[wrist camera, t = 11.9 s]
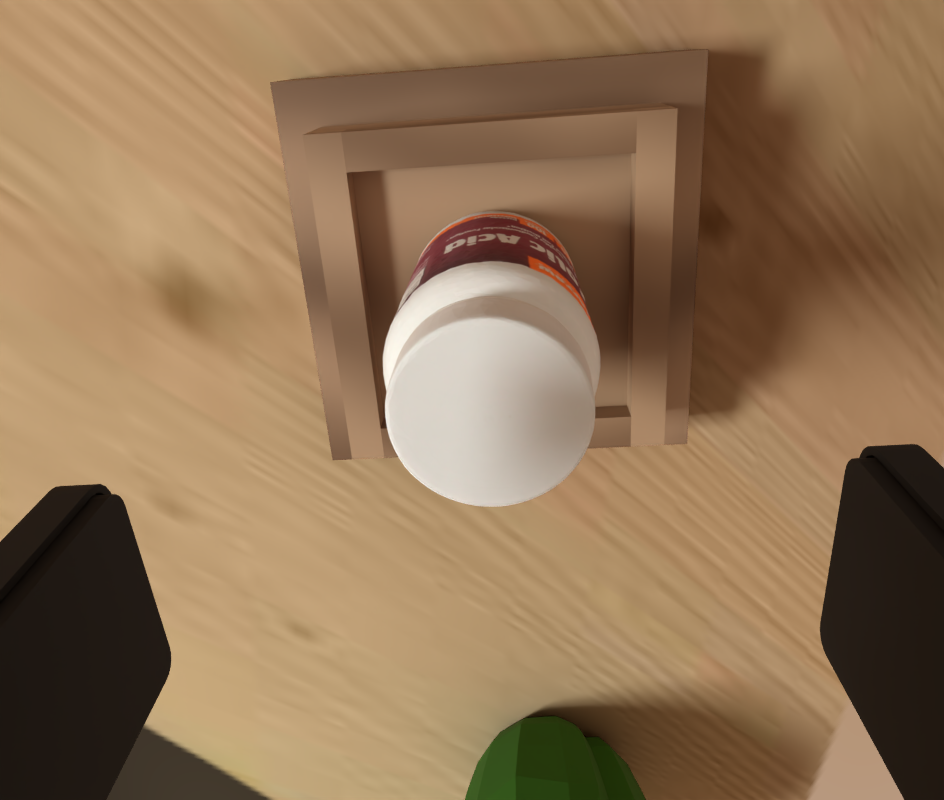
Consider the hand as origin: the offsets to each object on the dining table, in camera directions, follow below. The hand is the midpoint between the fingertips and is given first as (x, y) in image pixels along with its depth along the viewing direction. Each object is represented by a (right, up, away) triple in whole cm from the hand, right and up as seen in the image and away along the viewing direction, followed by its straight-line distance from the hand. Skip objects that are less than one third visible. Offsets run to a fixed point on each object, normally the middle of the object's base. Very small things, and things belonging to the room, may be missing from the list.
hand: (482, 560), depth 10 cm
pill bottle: (0, +5, +12) cm, 13 cm away
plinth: (+1, +7, +15) cm, 17 cm away
